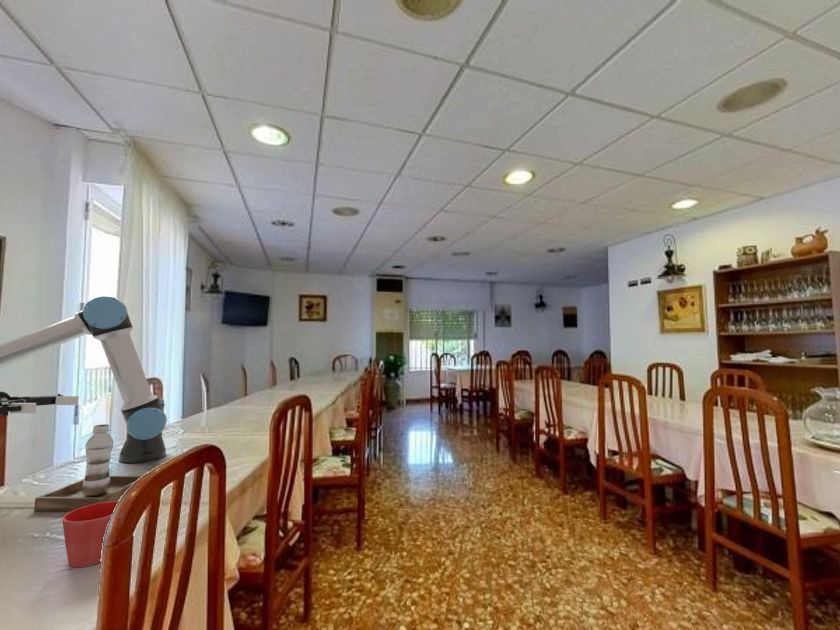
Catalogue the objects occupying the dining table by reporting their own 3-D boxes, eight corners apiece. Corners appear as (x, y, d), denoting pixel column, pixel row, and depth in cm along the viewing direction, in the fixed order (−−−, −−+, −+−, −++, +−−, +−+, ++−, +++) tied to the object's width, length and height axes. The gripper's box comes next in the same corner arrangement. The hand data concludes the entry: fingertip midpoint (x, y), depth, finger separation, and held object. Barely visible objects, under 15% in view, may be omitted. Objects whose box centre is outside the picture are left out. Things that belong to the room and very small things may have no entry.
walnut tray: (91, 486, 120) (92, 475, 120) (148, 487, 120) (148, 476, 120) (33, 511, 102) (35, 498, 102) (100, 512, 102) (101, 499, 102)
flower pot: (85, 545, 86) (89, 500, 87) (136, 543, 87) (139, 500, 88) (43, 572, 75) (47, 522, 76) (101, 571, 76) (105, 521, 77)
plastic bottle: (93, 500, 107) (99, 428, 109) (74, 498, 109) (80, 427, 110) (115, 491, 114) (121, 424, 115) (97, 489, 115) (103, 422, 117)
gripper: (27, 409, 126) (91, 409, 126) (-68, 425, 101) (12, 425, 102) (29, 386, 127) (93, 386, 127) (-66, 397, 102) (14, 397, 102)
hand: (57, 404), depth 114 cm, fingers open, 13 cm apart
